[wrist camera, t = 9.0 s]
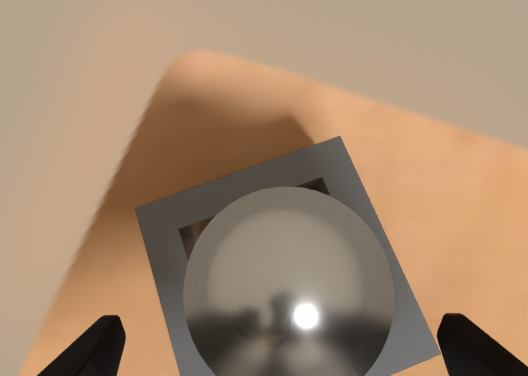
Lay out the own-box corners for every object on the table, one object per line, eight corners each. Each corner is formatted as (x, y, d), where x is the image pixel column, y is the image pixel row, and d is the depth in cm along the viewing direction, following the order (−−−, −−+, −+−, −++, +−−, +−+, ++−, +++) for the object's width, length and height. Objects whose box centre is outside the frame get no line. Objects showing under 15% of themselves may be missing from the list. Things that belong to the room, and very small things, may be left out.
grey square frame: (405, 337, 17) (441, 354, 13) (216, 415, 16) (201, 454, 12) (327, 160, 19) (339, 135, 16) (160, 220, 18) (135, 208, 15)
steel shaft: (339, 308, 17) (432, 357, 7) (249, 343, 17) (220, 444, 7) (303, 219, 18) (343, 160, 9) (218, 250, 18) (159, 225, 8)
